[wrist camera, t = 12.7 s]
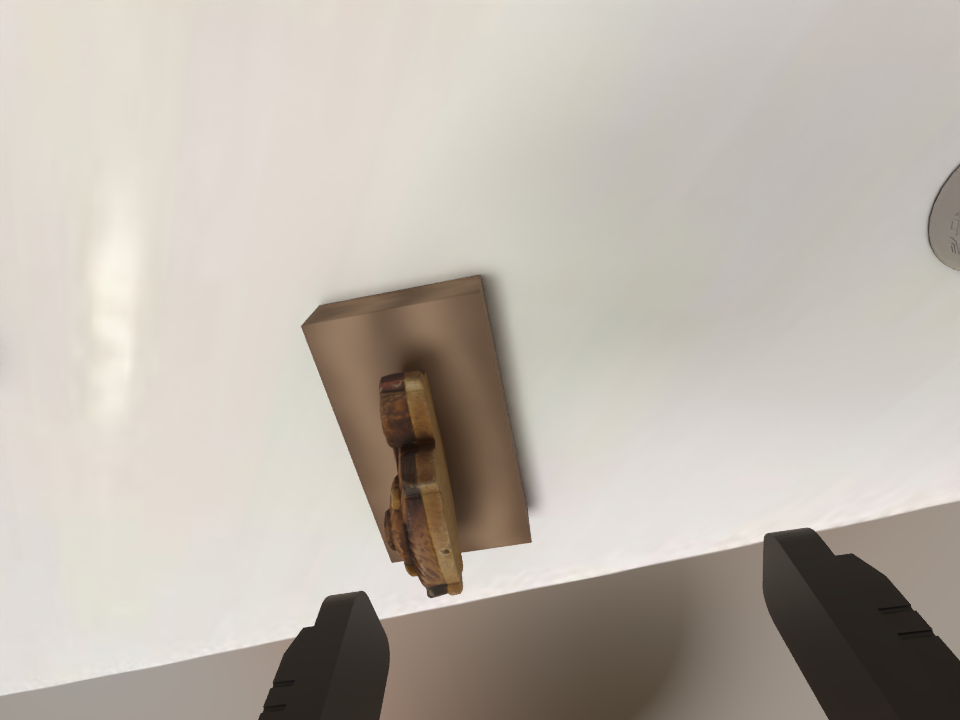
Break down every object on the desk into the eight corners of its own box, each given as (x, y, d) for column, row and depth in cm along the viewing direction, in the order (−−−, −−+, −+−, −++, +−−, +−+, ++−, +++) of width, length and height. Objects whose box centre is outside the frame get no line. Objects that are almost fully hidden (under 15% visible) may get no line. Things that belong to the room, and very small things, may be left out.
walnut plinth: (480, 274, 35) (480, 292, 31) (527, 508, 44) (531, 542, 40) (318, 305, 36) (301, 326, 32) (398, 527, 45) (391, 562, 41)
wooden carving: (365, 353, 33) (321, 439, 24) (430, 339, 32) (411, 422, 24) (428, 531, 40) (413, 650, 31) (483, 522, 39) (484, 640, 30)
